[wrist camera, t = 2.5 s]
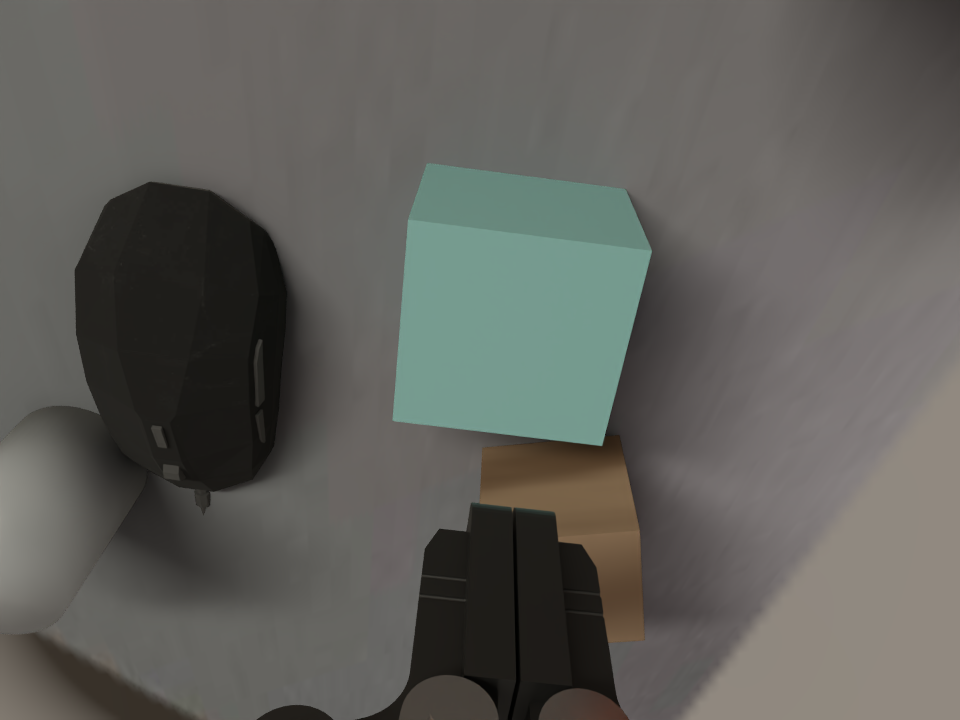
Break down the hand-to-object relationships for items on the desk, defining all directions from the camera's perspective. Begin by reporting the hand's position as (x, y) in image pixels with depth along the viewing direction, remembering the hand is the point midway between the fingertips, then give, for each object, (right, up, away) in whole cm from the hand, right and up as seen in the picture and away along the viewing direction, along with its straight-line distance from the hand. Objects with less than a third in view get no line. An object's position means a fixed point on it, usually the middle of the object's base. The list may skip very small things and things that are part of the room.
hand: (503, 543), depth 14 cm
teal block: (+1, +6, +11) cm, 12 cm away
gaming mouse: (-10, +3, +14) cm, 18 cm away
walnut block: (+3, -2, +15) cm, 16 cm away
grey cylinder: (-16, 0, +15) cm, 22 cm away
